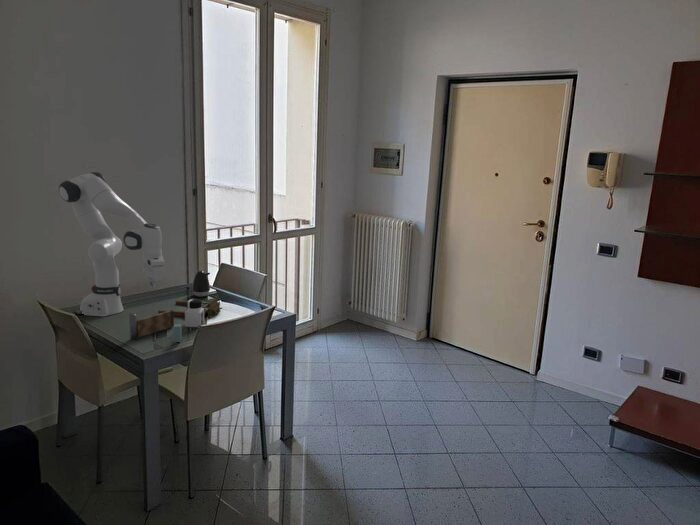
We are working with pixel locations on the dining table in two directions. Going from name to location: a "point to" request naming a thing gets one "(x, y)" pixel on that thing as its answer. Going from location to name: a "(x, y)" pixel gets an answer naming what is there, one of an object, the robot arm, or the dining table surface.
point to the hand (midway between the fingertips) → (153, 286)
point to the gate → (155, 323)
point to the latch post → (177, 332)
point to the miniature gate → (208, 307)
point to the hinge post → (133, 326)
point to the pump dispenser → (201, 284)
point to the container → (194, 313)
